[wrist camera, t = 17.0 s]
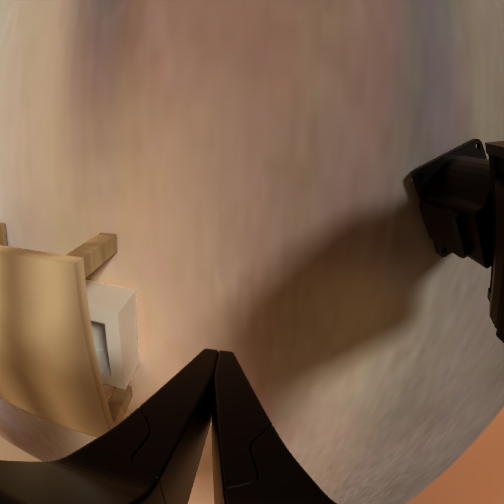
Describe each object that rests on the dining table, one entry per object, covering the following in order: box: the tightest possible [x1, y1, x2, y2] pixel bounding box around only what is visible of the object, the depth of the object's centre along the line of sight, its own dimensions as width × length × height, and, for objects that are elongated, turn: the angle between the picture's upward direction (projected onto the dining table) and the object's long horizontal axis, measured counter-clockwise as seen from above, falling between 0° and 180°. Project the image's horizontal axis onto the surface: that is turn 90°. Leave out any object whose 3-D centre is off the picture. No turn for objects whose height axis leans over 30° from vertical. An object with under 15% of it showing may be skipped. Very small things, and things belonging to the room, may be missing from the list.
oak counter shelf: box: [0, 223, 132, 437], centre depth 19 cm, size 12×14×6 cm
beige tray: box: [85, 279, 139, 390], centre depth 20 cm, size 10×6×4 cm, turn 81°
